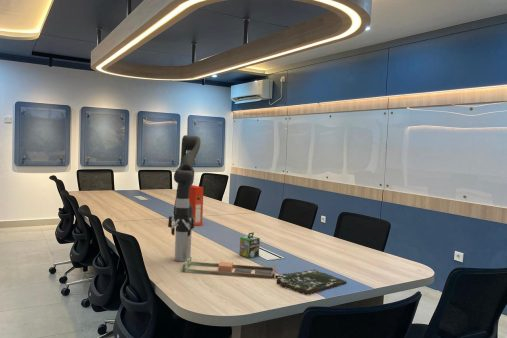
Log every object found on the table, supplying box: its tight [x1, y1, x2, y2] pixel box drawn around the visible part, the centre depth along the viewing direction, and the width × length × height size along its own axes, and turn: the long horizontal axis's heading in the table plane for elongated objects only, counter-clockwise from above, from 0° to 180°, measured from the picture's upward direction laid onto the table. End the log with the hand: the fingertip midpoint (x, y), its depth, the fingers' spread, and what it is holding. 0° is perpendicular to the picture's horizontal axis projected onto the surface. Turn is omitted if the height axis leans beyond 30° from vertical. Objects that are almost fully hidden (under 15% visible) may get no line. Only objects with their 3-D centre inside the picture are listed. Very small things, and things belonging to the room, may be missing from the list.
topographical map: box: [274, 269, 348, 296], centre depth 206 cm, size 26×33×3 cm
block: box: [217, 261, 234, 272], centre depth 217 cm, size 7×7×4 cm
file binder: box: [189, 184, 204, 227], centre depth 335 cm, size 8×17×32 cm, turn 36°
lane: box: [182, 256, 276, 279], centre depth 217 cm, size 14×49×4 cm, turn 86°
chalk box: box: [239, 232, 261, 259], centre depth 249 cm, size 9×9×15 cm
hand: (180, 235), depth 220 cm, fingers open, 8 cm apart
